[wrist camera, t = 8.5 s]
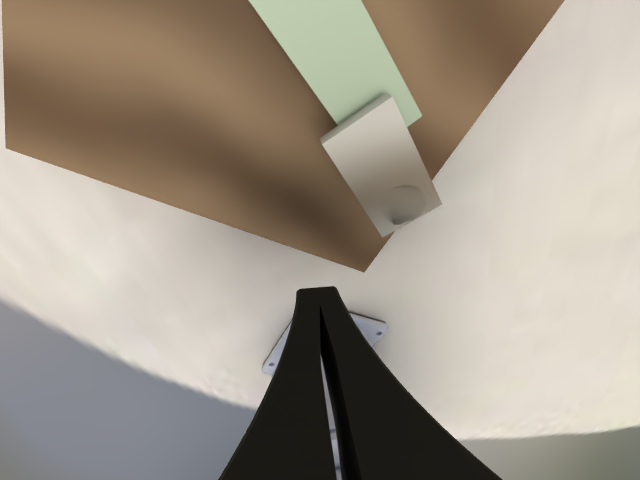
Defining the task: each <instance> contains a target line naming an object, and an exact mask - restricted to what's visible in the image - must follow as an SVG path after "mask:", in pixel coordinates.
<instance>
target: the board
mask: <svg viewBox="0 0 640 480" xmlns="http://www.w3.org/2000/svg"><path fill="white" fill-rule="evenodd" d="M361 1H362V3H363V5H364V6H365V8H366V10H367V12H368V14H369V16H370V18H371V20H372V22H373V23H374V25H375V27H376V29H377V31H378V33H379V35H380V37H381V38H382V40H383V42H384V44H385V46H386V48H387V50H388V52H389V54H390V55H391V57H392V59H393V61H394V63H395V65H396V67H397V69H398V71H399V72H400V74H401V76H402V78H403V80H404V82H405V84H406V86H407V88H408V89H409V91H410V93H411V95H412V97H413V99H414V101H415V103H416V105H417V106H418V108H419V110H420V112H421V114H422V116H421V117H420V118H419V119H417V120H416V121H415V122H413V123H412V124H411V125H409V126H408V127H406V124H405V122H404V120H403V118H402V116H401V113H400V111H399V109H398V107H397V105H396V102H395V100H394V98H393V96H391V95H390V94H388V93H385V94H384V95H382V96H381V97H379V98H378V99H376V100H375V101H373V102H372V103H370V104H369V105H368V106H366V107H365V108H363V109H362V110H360V111H359V112H357V113H356V114H354V115H353V116H351V117H350V118H349V119H347V120H346V121H344V122H343V123H341V124H340V125H337V124H336V122H335V121H334V119H333V118H332V117H331V115H330V114H329V112H328V111H327V110H326V108H325V107H324V105H323V104H322V103H321V101H320V100H319V98H318V97H317V96H316V94H315V93H314V91H313V90H312V89H311V87H310V86H309V84H308V83H307V82H306V80H305V79H304V77H303V76H302V74H301V73H300V72H299V70H298V69H297V67H296V66H295V65H294V63H293V62H292V60H291V59H290V58H289V56H288V55H287V53H286V52H285V51H284V49H283V48H282V46H281V45H280V44H279V42H278V41H277V39H276V38H275V37H274V35H273V34H272V32H271V31H270V30H269V28H268V27H267V25H266V24H265V23H264V21H263V20H262V18H261V17H260V16H259V14H258V13H257V11H256V10H255V9H254V7H253V6H252V4H251V3H250V2H249V0H2V26H3V63H4V101H5V139H6V148H7V149H10V150H12V151H15V152H18V153H21V154H24V155H27V156H30V157H33V158H36V159H38V160H41V161H44V162H47V163H50V164H53V165H56V166H59V167H62V168H64V169H67V170H70V171H73V172H76V173H79V174H82V175H85V176H87V177H90V178H93V179H96V180H99V181H102V182H105V183H108V184H111V185H113V186H116V187H119V188H122V189H125V190H128V191H131V192H134V193H137V194H139V195H142V196H145V197H148V198H151V199H154V200H157V201H160V202H163V203H165V204H168V205H171V206H174V207H177V208H180V209H183V210H186V211H189V212H191V213H194V214H197V215H200V216H203V217H206V218H209V219H212V220H215V221H217V222H220V223H223V224H226V225H229V226H232V227H235V228H238V229H241V230H243V231H246V232H249V233H252V234H255V235H258V236H261V237H264V238H267V239H269V240H272V241H275V242H278V243H281V244H284V245H287V246H290V247H292V248H295V249H298V250H301V251H304V252H307V253H310V254H313V255H316V256H318V257H321V258H324V259H327V260H330V261H333V262H336V263H339V264H342V265H344V266H347V267H350V268H353V269H356V270H359V271H362V272H365V271H366V269H367V268H368V267H369V265H370V264H371V263H372V261H373V260H374V258H375V257H376V256H377V254H378V253H379V252H380V250H381V249H382V248H383V246H384V245H385V244H386V242H387V241H388V239H389V238H390V237H391V235H392V234H393V233H394V231H395V230H397V229H399V228H400V227H402V226H404V225H406V224H408V223H409V222H411V221H413V220H415V219H417V218H418V217H420V216H422V215H424V214H425V213H427V212H429V211H431V210H433V209H434V208H436V207H438V206H440V205H441V204H442V203H441V201H440V199H439V197H438V194H437V192H436V190H435V188H434V186H433V183H432V180H433V178H434V177H435V176H436V174H437V173H438V171H439V170H440V169H441V167H442V166H443V165H444V163H445V162H446V161H447V159H448V158H449V157H450V155H451V154H452V152H453V151H454V150H455V148H456V147H457V146H458V144H459V143H460V142H461V140H462V139H463V138H464V136H465V135H466V133H467V132H468V131H469V129H470V128H471V127H472V125H473V124H474V123H475V121H476V120H477V118H478V117H479V116H480V114H481V113H482V112H483V110H484V109H485V108H486V106H487V105H488V104H489V102H490V101H491V99H492V98H493V97H494V95H495V94H496V93H497V91H498V90H499V89H500V87H501V86H502V85H503V83H504V82H505V80H506V79H507V78H508V76H509V75H510V74H511V72H512V71H513V70H514V68H515V67H516V65H517V64H518V63H519V61H520V60H521V59H522V57H523V56H524V55H525V53H526V52H527V51H528V49H529V48H530V46H531V45H532V44H533V42H534V41H535V40H536V38H537V37H538V36H539V34H540V33H541V32H542V30H543V29H544V27H545V26H546V25H547V23H548V22H549V21H550V19H551V18H552V17H553V15H554V14H555V12H556V11H557V10H558V8H559V7H560V6H561V4H562V3H563V2H564V0H361Z"/></svg>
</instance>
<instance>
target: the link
mask: <svg viewBox="0 0 640 480" xmlns="http://www.w3.org/2000/svg"><path fill="white" fill-rule="evenodd" d="M249 2H250V3H251V4H252V6H253V7H254V9H255V10H256V11H257V13H258V14H259V16H260V17H261V18H262V20H263V21H264V23H265V24H266V25H267V27H268V28H269V30H270V31H271V32H272V34H273V35H274V37H275V38H276V39H277V41H278V42H279V44H280V45H281V46H282V48H283V49H284V51H285V52H286V53H287V55H288V56H289V58H290V59H291V60H292V62H293V63H294V65H295V66H296V67H297V69H298V70H299V72H300V73H301V74H302V76H303V77H304V79H305V80H306V82H307V83H308V84H309V86H310V87H311V89H312V90H313V91H314V93H315V94H316V96H317V97H318V98H319V100H320V101H321V103H322V104H323V105H324V107H325V108H326V110H327V111H328V112H329V114H330V115H331V117H332V118H333V119H334V121H335V122H336V124H337V125H340V124H341V123H343V122H344V121H346V120H347V119H349V118H350V117H351V116H353V115H354V114H356V113H357V112H359V111H360V110H362V109H363V108H365V107H366V106H368V105H369V104H370V103H372V102H373V101H375V100H376V99H378V98H379V97H381V96H382V95H384V94H385V93H388V94H390V95H391V96H393V98H394V100H395V102H396V105H397V107H398V109H399V111H400V113H401V116H402V118H403V120H404V122H405V124H406V127H408V126H409V125H411V124H412V123H413V122H415V121H416V120H417V119H419V118H420V117H421V116H422V114H421V112H420V110H419V108H418V106H417V105H416V103H415V101H414V99H413V97H412V95H411V93H410V91H409V89H408V88H407V86H406V84H405V82H404V80H403V78H402V76H401V74H400V72H399V71H398V69H397V67H396V65H395V63H394V61H393V59H392V57H391V55H390V54H389V52H388V50H387V48H386V46H385V44H384V42H383V40H382V38H381V37H380V35H379V33H378V31H377V29H376V27H375V25H374V23H373V22H372V20H371V18H370V16H369V14H368V12H367V10H366V8H365V6H364V5H363V3H362V1H361V0H249Z"/></svg>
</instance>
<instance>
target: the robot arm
mask: <svg viewBox="0 0 640 480" xmlns="http://www.w3.org/2000/svg"><path fill="white" fill-rule="evenodd" d="M387 329H388V327H387V325H386V324H385V323H383V322H379V321H376V320H372V319H369V318H365V317H362V316H358V315H355V314H351V313H349V312H348V310H347V308H346V307H345V305H344V303H343V301H342V299H341V297H340V295H339V292H338V290H337V288H336V287H334V286H331V287H319V288H306V289H299V290H298V291H297V294H296V305H295V310H294V315H293V319H292V322H291V323H290V325H289V326H288V328H287V329H286V331H285V332H284V334H283V335H282V337H281V338H280V340H279V342H278V343H277V345H276V346H275V348H274V349H273V351H272V352H271V354H270V355H269V357H268V359H267V360H266V362H265V363H264V365H263V366H262V372H263V373H266V374H271V375H272V380H271V382H270V384H269V387H268V389H267V391H266V393H265V395H264V398H263V400H262V402H261V404H260V406H259V408H258V410H257V412H256V414H255V416H254V418H253V420H252V422H251V424H250V426H249V427H248V429H247V431H246V433H245V435H244V437H243V438H242V440H241V442H240V443H239V445H238V447H237V449H236V450H235V452H234V454H233V456H232V458H231V459H230V461H229V463H228V465H227V466H226V468H225V469H224V471H223V473H222V475H221V476H220V478H219V479H218V480H502V479H501V478H500V477H499V476H498V475H496V474H495V473H494V472H493V471H492V470H490V469H489V468H488V467H487V466H485V465H484V464H483V463H482V462H481V461H480V460H479V459H477V458H476V457H475V456H474V455H473V454H472V453H471V452H470V451H468V450H467V449H466V448H465V447H464V446H463V445H461V444H460V443H459V442H458V441H457V440H456V439H455V438H454V437H453V436H452V435H451V434H450V433H449V432H448V431H446V430H445V429H444V428H443V427H442V426H441V425H440V424H439V423H438V422H437V421H436V420H435V419H434V418H433V417H432V416H431V415H430V414H429V413H428V412H427V411H426V410H425V409H424V408H423V407H422V406H421V405H420V404H419V403H418V402H417V401H416V400H415V399H414V398H413V397H412V395H411V394H410V393H409V392H408V391H407V390H406V389H405V388H404V387H403V386H402V384H401V383H400V382H399V381H398V380H397V379H396V377H395V376H394V375H393V374H392V373H391V372H390V370H389V369H388V368H387V367H386V365H385V364H384V363H383V362H382V360H381V359H380V358H379V357H378V355H377V354H376V352H375V351H374V350H373V348H372V347H373V346H374V344H375V343H376V342H377V341H378V340H379V339H380V338H381V337H382V335H383V334H384V333H385V332H386V331H387Z"/></svg>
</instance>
